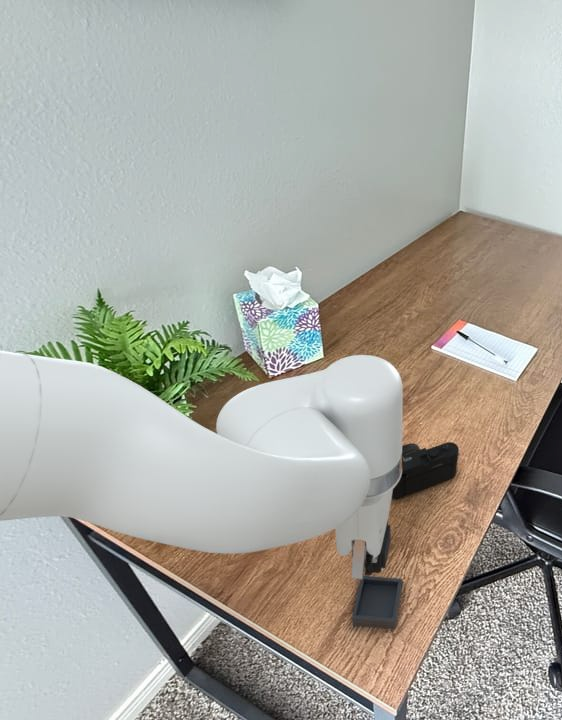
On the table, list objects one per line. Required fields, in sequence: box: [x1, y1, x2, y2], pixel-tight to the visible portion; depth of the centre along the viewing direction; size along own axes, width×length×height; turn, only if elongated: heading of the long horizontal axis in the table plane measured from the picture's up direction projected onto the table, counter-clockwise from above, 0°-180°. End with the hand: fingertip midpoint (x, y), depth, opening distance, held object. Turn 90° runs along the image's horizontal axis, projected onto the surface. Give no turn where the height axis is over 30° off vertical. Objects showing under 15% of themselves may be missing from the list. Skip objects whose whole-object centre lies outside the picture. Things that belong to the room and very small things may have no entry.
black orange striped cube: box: [351, 524, 392, 569], centre depth 59 cm, size 4×4×4 cm
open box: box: [351, 575, 403, 630], centre depth 67 cm, size 6×6×2 cm
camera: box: [392, 441, 461, 500], centre depth 84 cm, size 14×7×8 cm, turn 120°
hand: (372, 551), depth 60 cm, fingers closed on black orange striped cube, 4 cm apart
